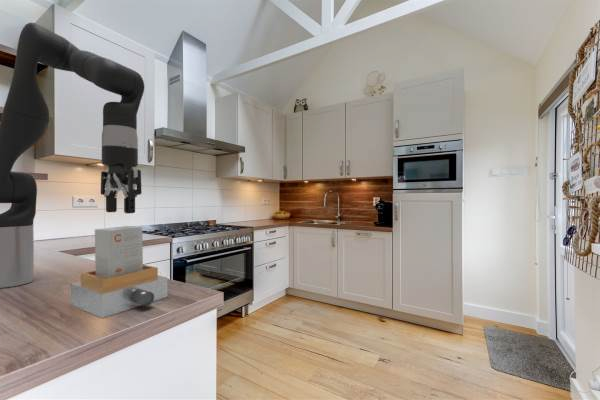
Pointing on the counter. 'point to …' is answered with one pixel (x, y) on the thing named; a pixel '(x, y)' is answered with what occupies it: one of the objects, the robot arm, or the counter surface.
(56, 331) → the counter surface
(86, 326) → the counter surface
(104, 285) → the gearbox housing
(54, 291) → the counter surface
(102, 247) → the small box
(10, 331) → the counter surface
